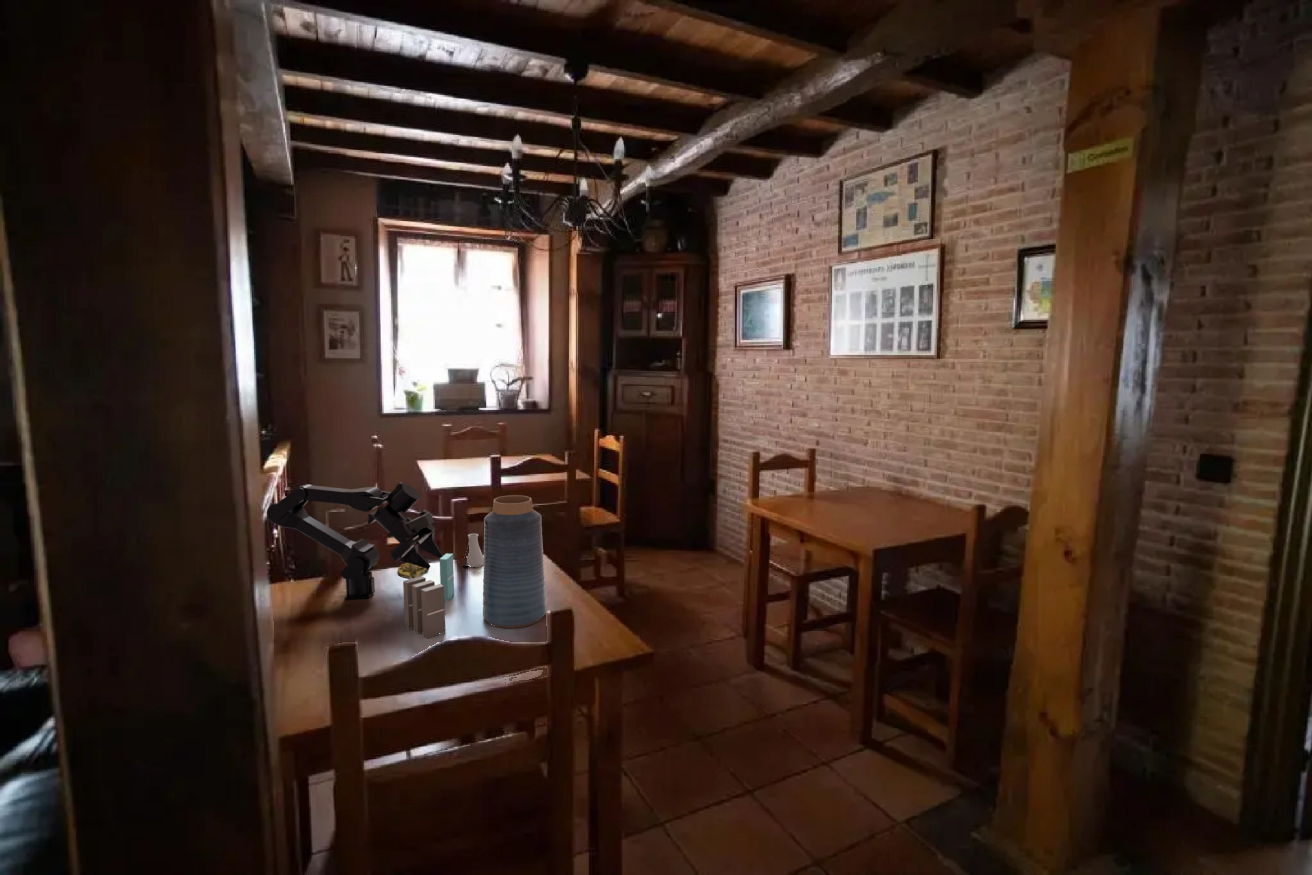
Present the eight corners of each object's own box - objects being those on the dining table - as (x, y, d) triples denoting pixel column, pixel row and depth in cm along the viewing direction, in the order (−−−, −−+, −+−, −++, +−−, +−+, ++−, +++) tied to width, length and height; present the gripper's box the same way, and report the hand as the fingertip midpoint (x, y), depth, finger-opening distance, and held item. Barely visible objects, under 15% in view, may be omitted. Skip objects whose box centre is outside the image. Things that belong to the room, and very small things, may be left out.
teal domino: (440, 600, 182) (439, 559, 181) (447, 593, 187) (445, 553, 186) (448, 600, 182) (446, 559, 181) (454, 594, 187) (453, 553, 186)
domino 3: (422, 636, 160) (420, 589, 158) (441, 629, 164) (439, 583, 162) (427, 638, 159) (425, 591, 157) (445, 632, 162) (444, 585, 161)
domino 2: (413, 631, 163) (411, 585, 161) (431, 625, 166) (430, 579, 165) (418, 633, 161) (416, 587, 160) (436, 627, 165) (434, 581, 164)
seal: (397, 569, 212) (399, 584, 198) (394, 555, 211) (396, 569, 197) (427, 562, 215) (431, 576, 202) (425, 548, 214) (428, 562, 201)
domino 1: (404, 626, 165) (402, 581, 164) (423, 620, 169) (421, 575, 168) (409, 629, 164) (407, 583, 162) (427, 622, 168) (425, 577, 166)
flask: (489, 562, 215) (489, 533, 214) (477, 569, 208) (476, 539, 207) (471, 560, 217) (470, 530, 216) (457, 566, 211) (456, 536, 209)
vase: (479, 608, 177) (476, 494, 173) (539, 601, 183) (538, 490, 179) (486, 633, 162) (483, 509, 158) (551, 624, 168) (550, 504, 164)
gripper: (400, 512, 172) (442, 553, 173) (427, 496, 191) (465, 533, 192) (372, 540, 174) (414, 581, 175) (401, 522, 192) (440, 559, 193)
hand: (435, 562), depth 184 cm, fingers open, 9 cm apart
